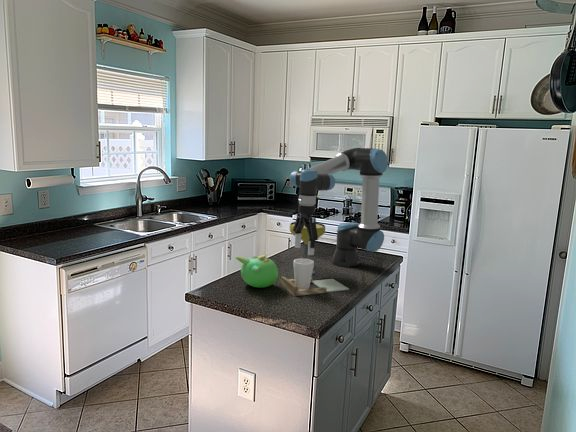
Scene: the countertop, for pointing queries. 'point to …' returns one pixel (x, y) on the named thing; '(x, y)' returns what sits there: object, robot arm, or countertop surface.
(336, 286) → the pad
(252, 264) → the toy bird
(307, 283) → the foam cup
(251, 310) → the countertop surface
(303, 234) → the cocktail glass
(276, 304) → the countertop surface
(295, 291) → the wooden u-shaped frame
